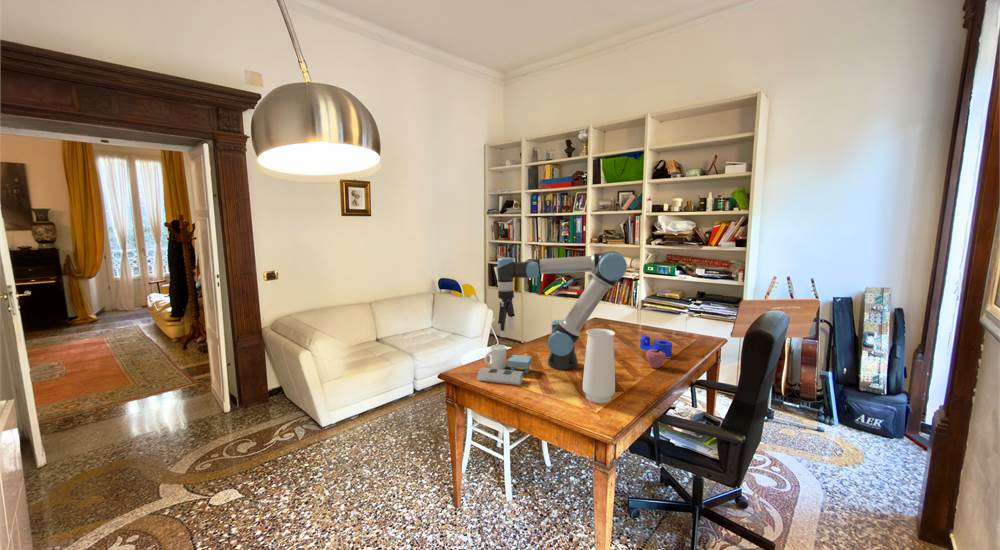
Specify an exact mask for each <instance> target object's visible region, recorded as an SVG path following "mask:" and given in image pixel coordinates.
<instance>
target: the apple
mask: <svg viewBox="0 0 1000 550" xmlns="http://www.w3.org/2000/svg"><path fill="white" fill-rule="evenodd" d="M645 352H646V351H645ZM645 358H646V361H647V362H648V363H649V366H650V367H651V368H653V367H654V369H659V368H661V366H662V365H663V363H664V362H665V361H666V360H667V359H666V355H665V353H664V352H662V351H661V349H659V350H652V349H651V350H648V351H647V352H646V353H645Z"/></svg>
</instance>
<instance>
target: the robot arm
mask: <svg viewBox="0 0 1000 550" xmlns="http://www.w3.org/2000/svg"><path fill="white" fill-rule="evenodd" d="M627 268H628V264H627V261H626V259H625V257H624V256H623V255H622V254H621V253H620V252H618V251H613V250H610V251H605V252H600V253H599V252H598V253H593V254H592V255H586V256H585V255H583V256H570V257H569V256H567V257H551V258H550V257H549V258H537V259H536V258H529V259H526V260H525V261H514V259H513V258H512V257H500V258H498V259H497V269H496V270H497V283H496V285H497V289H498V292H497V293H498V294H497V296H498V299H500V300H501V302H499V313H498V320H497V324H499V337H500V338H507V330H508V331H509V330H510V331H513V330H514V317H515V316H516V315H515V310H514V304H513V299H514V298H515V291H514V289H515V285H514V281H515V280H514V279H517V278H518V279H521V278H522V279H535V278H538V277H539V275H541V274H542V275H545V274H567V273H589V272H590V273H591V275H592V278H591V279H590V281H589V282H588V284H587V285H586V286H585V288H584V290H583V292H582V293H581V295H580V296H579V297H578V299H577V300H576V301H575V303H574V305H573V307H572V308H571V309H570V311H569V312H568V314H567V315H566V316H565V318H564V319H554V320H552V322H551V332H550V334H549V336H548V339H547V346H548V349H549V350H550V353H549V355H548V359H547V365H548V366H549V367H550V368H553V369H556V370H562V371H568V370H569V371H570V370H574V369H576V368H578V366H579V361H578V357H577V354H576V350H575V349H576V348H575V347H576V343H577V341H578V340H579V338H580V337H581V329H582V328H583V326H585V324H586V322H587V321H588V319H589V318H590V316H591V315H592V314H593V312H594V311H595V309H596V307H597V306H598V305H599V303H600V302H601V300H602V299H603V297H604V296H605V294H606V293H607V291H608V290H609V289H611V288H614V287H615V286H616V284H617V283H619V281H620V279H621V278H623V277H624V276H625V274H626V273H627ZM506 320H507V323H506Z"/></svg>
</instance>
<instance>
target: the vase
mask: <svg viewBox="0 0 1000 550" xmlns="http://www.w3.org/2000/svg"><path fill="white" fill-rule="evenodd" d="M585 332H586V334H587V338H586V339H587V340H586V348H585V355H584V357H585V358H584V366H583V375H582V376H583V377H582V391H583V392H584V393H585V397H586V400H588V401H590V402H591V403H596V404H605V403H609V402H610V401H611V399H612V397H613V395H615V393H616V373H615V370H616V369H615V367H616V366H615V350H614V349H615V345H614V336H615V334H616V332H615V331H614V330H611V329H608V328H599V327H598V328H589V329H587V330H585Z"/></svg>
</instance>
